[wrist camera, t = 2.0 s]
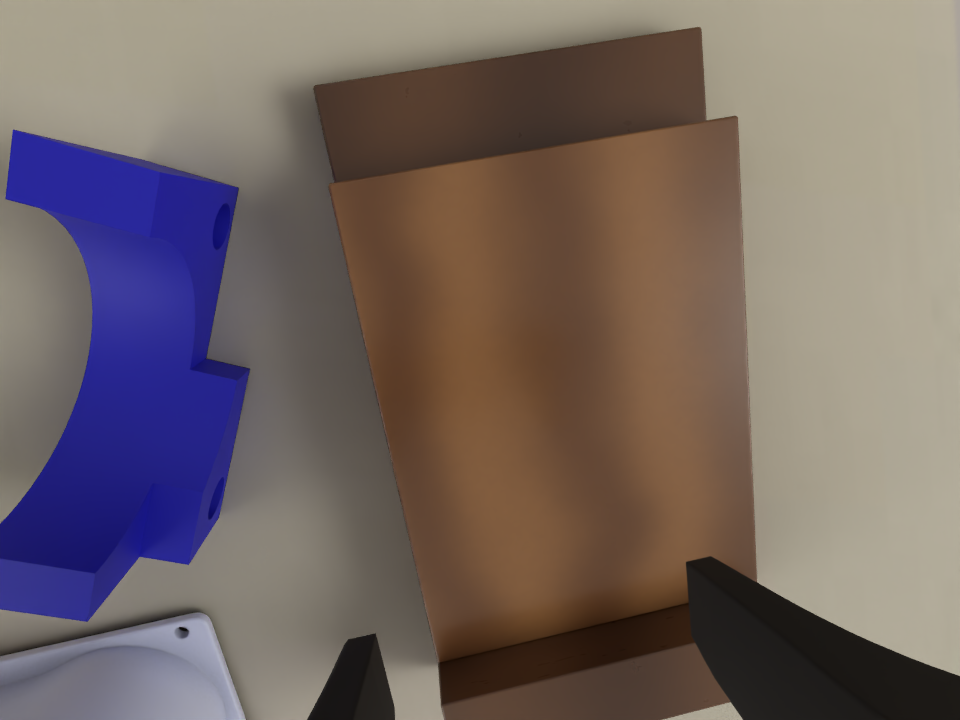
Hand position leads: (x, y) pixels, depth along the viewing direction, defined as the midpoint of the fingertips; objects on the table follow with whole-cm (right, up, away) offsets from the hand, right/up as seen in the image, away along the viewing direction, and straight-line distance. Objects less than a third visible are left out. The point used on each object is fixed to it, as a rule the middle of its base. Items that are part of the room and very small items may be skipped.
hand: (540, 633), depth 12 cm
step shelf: (+1, +5, +9) cm, 10 cm away
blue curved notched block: (-12, +6, +7) cm, 15 cm away
